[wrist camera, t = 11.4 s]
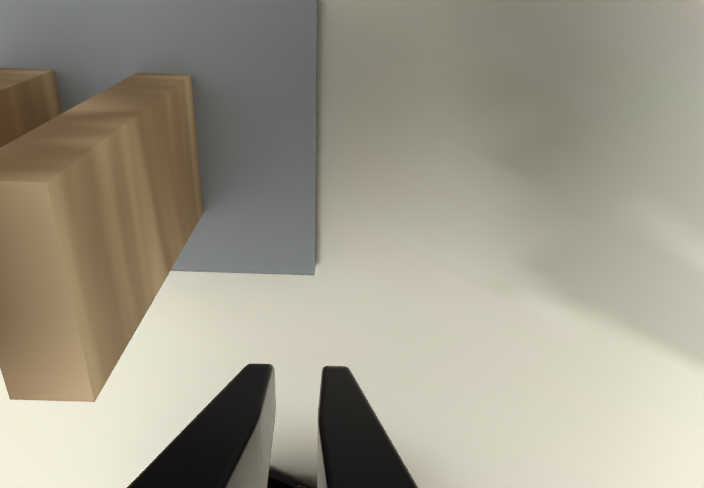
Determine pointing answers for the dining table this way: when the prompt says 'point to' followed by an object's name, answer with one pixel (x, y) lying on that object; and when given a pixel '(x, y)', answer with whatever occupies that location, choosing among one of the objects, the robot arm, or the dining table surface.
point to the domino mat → (204, 106)
